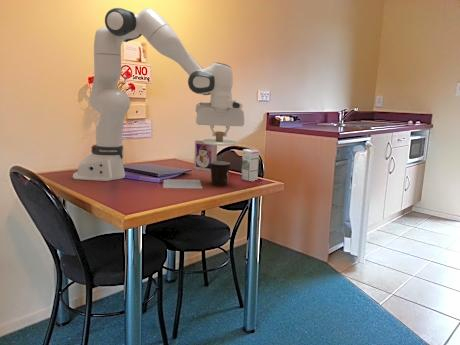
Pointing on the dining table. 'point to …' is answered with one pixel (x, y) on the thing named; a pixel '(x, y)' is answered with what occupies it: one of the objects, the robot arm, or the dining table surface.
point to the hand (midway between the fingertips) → (219, 136)
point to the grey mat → (181, 183)
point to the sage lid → (219, 140)
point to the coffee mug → (219, 172)
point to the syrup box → (250, 165)
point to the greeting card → (204, 155)
